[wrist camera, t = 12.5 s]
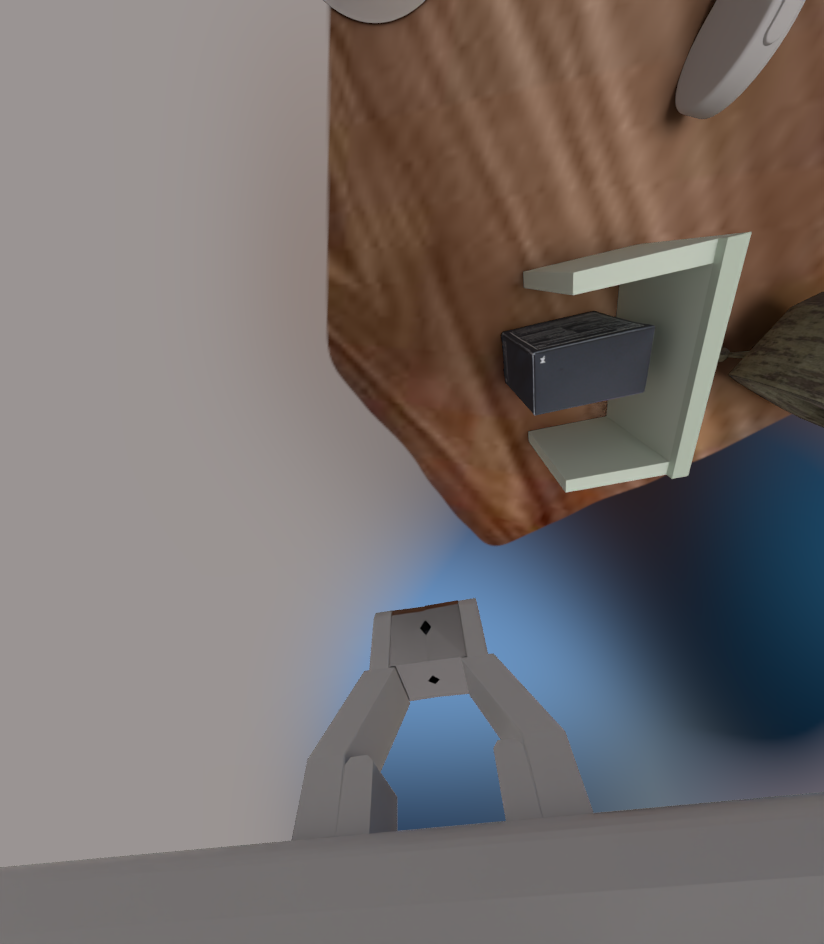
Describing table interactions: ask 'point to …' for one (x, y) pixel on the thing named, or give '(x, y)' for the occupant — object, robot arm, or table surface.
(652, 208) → the table surface
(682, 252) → the rack
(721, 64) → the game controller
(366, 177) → the table surface
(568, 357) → the small box
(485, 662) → the robot arm
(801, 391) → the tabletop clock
